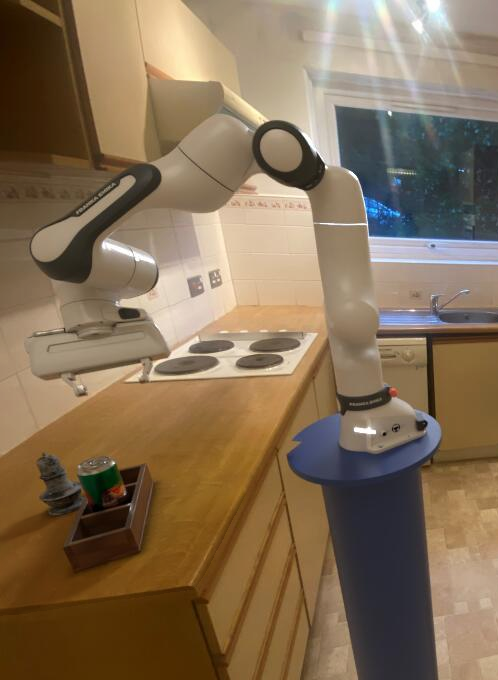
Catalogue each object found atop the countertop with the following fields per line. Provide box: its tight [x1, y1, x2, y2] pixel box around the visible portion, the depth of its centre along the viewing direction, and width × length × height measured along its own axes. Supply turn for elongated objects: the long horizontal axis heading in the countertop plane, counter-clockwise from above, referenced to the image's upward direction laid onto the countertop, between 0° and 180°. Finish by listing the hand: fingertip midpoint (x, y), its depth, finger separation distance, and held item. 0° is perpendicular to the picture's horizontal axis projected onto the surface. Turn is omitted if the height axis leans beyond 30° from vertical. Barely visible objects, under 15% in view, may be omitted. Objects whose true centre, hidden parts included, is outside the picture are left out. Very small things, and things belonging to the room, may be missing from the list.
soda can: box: [76, 455, 131, 513], centre depth 76 cm, size 5×5×12 cm
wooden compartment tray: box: [62, 462, 155, 573], centre depth 78 cm, size 8×23×5 cm, turn 33°
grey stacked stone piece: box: [35, 451, 84, 516], centre depth 81 cm, size 6×6×12 cm
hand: (114, 389), depth 83 cm, fingers open, 8 cm apart
